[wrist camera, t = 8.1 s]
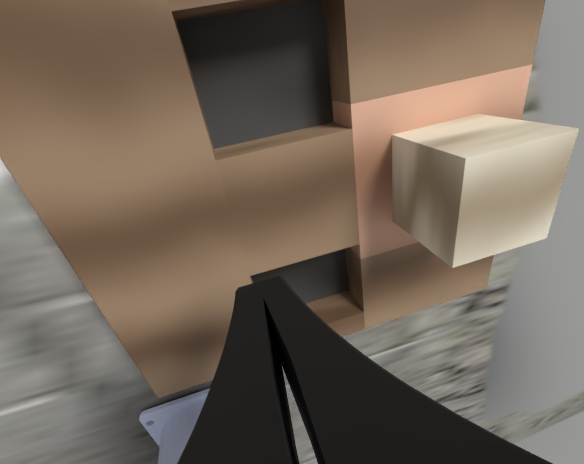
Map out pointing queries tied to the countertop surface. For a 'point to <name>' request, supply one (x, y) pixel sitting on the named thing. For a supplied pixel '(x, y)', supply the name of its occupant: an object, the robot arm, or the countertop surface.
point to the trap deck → (244, 152)
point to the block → (478, 184)
